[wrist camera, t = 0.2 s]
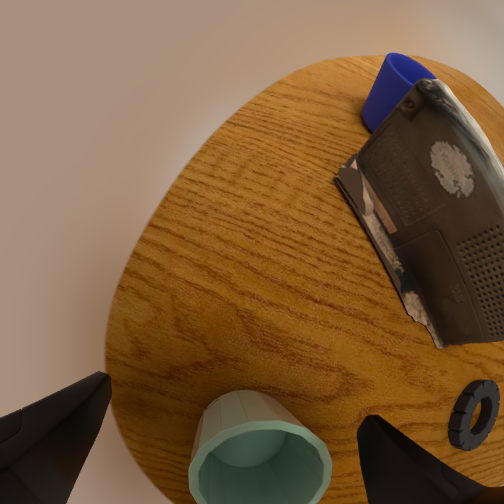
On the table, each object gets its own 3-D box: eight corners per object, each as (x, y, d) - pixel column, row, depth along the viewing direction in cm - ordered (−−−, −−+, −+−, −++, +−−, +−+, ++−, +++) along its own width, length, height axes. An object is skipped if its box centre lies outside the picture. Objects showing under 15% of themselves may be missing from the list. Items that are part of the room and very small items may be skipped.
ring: (491, 417, 20) (501, 418, 19) (451, 460, 19) (462, 464, 17) (484, 366, 23) (496, 366, 21) (443, 409, 21) (455, 411, 19)
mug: (431, 172, 30) (477, 129, 20) (353, 134, 29) (390, 74, 20) (425, 131, 32) (461, 90, 23) (354, 96, 32) (383, 43, 23)
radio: (468, 335, 24) (572, 313, 9) (424, 379, 22) (549, 380, 7) (383, 158, 29) (453, 71, 15) (327, 174, 27) (398, 60, 13)
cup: (302, 448, 19) (346, 495, 10) (220, 478, 17) (224, 540, 9) (271, 375, 20) (306, 397, 12) (183, 406, 19) (164, 447, 10)
